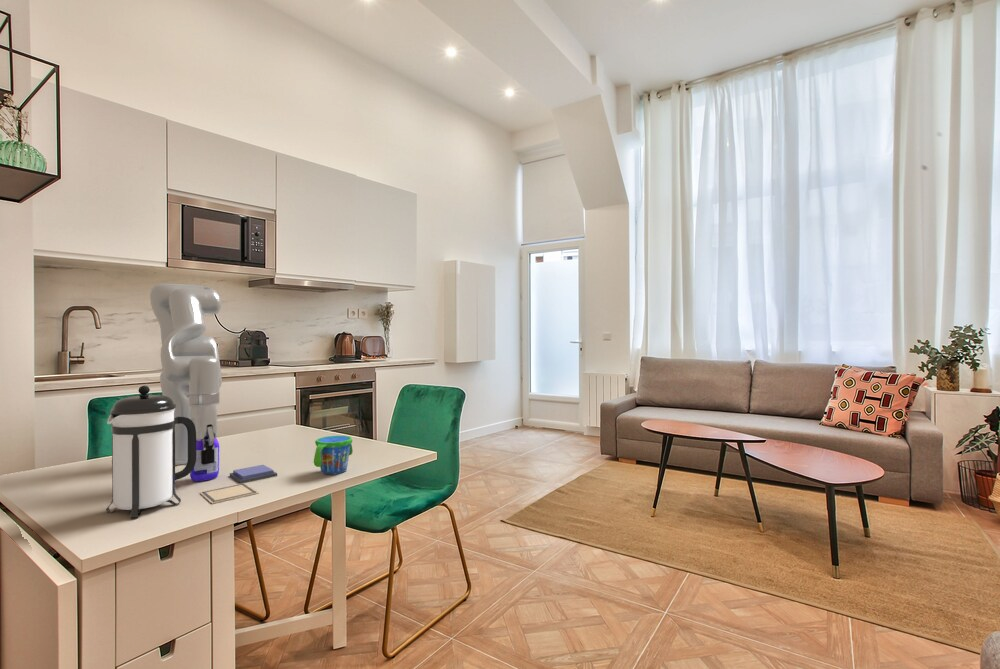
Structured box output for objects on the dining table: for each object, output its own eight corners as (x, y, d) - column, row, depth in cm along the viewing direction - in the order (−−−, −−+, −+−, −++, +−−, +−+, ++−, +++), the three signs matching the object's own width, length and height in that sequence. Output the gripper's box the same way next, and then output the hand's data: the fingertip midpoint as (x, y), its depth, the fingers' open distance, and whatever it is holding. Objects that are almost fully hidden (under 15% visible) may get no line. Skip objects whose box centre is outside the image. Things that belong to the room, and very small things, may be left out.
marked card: (199, 493, 127) (199, 492, 127) (244, 484, 135) (244, 482, 135) (212, 504, 120) (212, 502, 120) (258, 493, 128) (258, 491, 128)
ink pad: (229, 475, 143) (229, 470, 143) (264, 469, 150) (264, 463, 150) (240, 483, 136) (240, 477, 136) (277, 475, 143) (277, 470, 143)
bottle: (216, 474, 145) (215, 416, 145) (221, 478, 141) (221, 419, 140) (188, 479, 140) (187, 419, 139) (192, 483, 135) (192, 422, 135)
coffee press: (173, 515, 112) (173, 387, 112) (91, 523, 108) (91, 390, 107) (197, 491, 129) (196, 380, 129) (127, 497, 124) (126, 382, 124)
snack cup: (339, 463, 157) (339, 432, 157) (364, 467, 152) (364, 435, 152) (301, 476, 143) (301, 442, 143) (328, 481, 138) (327, 445, 138)
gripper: (182, 398, 143) (182, 458, 143) (197, 404, 131) (198, 470, 131) (210, 395, 149) (210, 453, 149) (228, 401, 137) (228, 464, 137)
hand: (204, 460), depth 140 cm, fingers closed on bottle, 5 cm apart
